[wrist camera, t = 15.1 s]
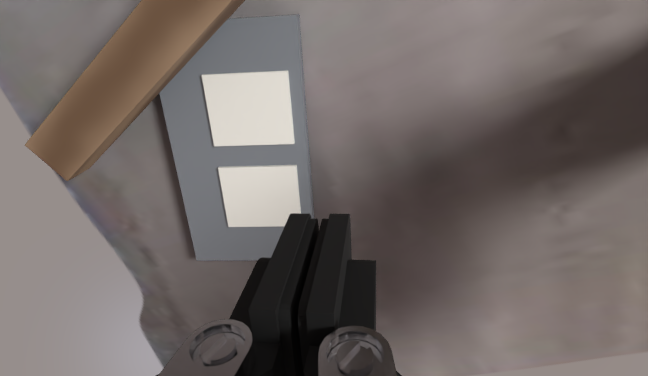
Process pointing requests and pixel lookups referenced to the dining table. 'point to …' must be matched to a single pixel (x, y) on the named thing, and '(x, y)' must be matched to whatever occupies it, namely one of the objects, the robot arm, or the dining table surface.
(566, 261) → the dining table surface
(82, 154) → the swing bar
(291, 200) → the label board
